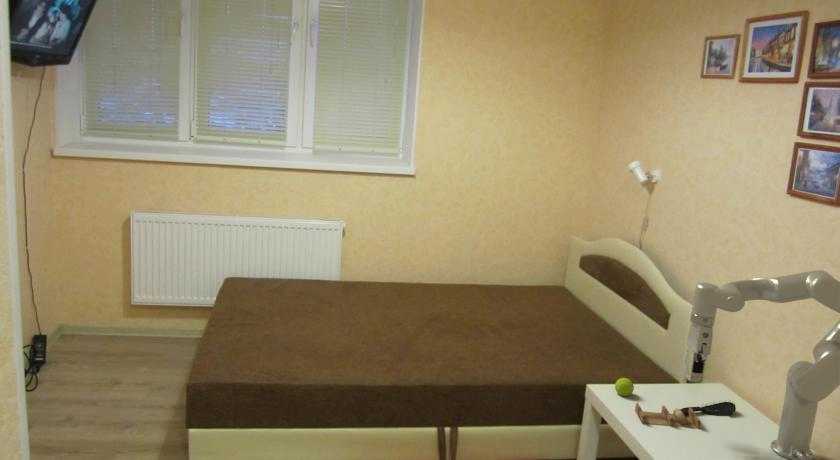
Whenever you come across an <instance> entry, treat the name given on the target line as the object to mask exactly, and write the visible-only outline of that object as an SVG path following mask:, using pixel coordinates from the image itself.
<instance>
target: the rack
mask: <svg viewBox="0 0 840 460" xmlns="http://www.w3.org/2000/svg"><path fill="white" fill-rule="evenodd" d="M634 408H635V409H634V412H635V414H636V415H637V417H638V419H639V421H640V422H641V424H643V425H653V426H661V427H662V426H664V427H665V426H666V427H674V428H683V429H684V428H685V429H686V428H687V429H695V430H696V429H698V430H700V427H701V420H700V418H699V416H698V415H697V414H696V412H694V411H693V410H692V408H689V411H688V412H689V413H688V414H687V415H685V417H686V418H687V420H688V423H687V424H686V425H681V424H680V423H679V422H678V420H677V419H676V417H675V416H674V414H673V413H670V411H669V410H668V409H667V407H666V406H665V405H661V412H656V411H655V412H654V411H644V410H643V409H642V408H641V406H640V404H639V403H638V402H636V403H635V407H634Z"/></svg>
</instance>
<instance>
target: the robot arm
mask: <svg viewBox="0 0 840 460" xmlns="http://www.w3.org/2000/svg"><path fill="white" fill-rule="evenodd" d="M809 299H813V300H815V301H816V302H818V303H820V304H821V305H824V306H825V307H827V308H829V309H831V310H832V311H834V312H836V313H838V314H840V281H839V280H837V279H836V278H835V277H833V276H832V275H831V274H830V273H829V272H827V271H825V270H819V269H817V270H816V269H815V270H809V271H804V272H799V273H794V274H793V273H792V274H788V275H783V276H775V277H761V278H759V277H757V278H747V279H742V280H741V279H740V280H735V281H731V282H726V283H724V284H723V285H721V286H720V287H719V286H718V285H716V284H714V283H710V282H699V283H697V285H696V286H695V291H694V296H693V300H692V301H693V302H692V307H691V314H690V319H689V321H690V326H689V329H688V335H687V341H686V343H687V346H688V345H689V346H690V347H691V348H692V349H693V350H694V352H695V353H696V356H695V361H694V365H693V370H692V372H693V373H702V372H703V367H704V368H705V365H704V363H705V364H706V360H707V358H708V356H710V355H711V350H712V343H713V327H714V325H715V320H716V314H717V310H718V309H719V310H722V311H725V312H730V313H737V312H739V311H741V310H743V308H744V307H745V306H746V305H745V304H746V302H749V301H766V302H767V301H768V302H772V303H776V304H777V303H779V304H786V303H791V302H798V301H804V300H809ZM698 351H702V353H699V352H698ZM686 352H688V349H687V351H686ZM698 355H702V356H701V357H699V358H698ZM812 355H813V359H814V363H813V362H810V361H807V360H800V361H796V362H794V363H792V365H791V366H790V367H789V369H788V370H787V374H786V381H785V383H786V385H785V393H784V394H785V395H784V401H783V405H782V410H781V418H780V421H779V428H778V433H777V438H776V439H775V440H772V441H771V442H770V448H771V449H772V451H773V452H774V453H776V454H777V455H779V456H780V457H782V458H785V459H788V460H813V459H814V456H815V455H814V452H813V451H812V450H811V447H810V446H811V441H812V436H813V432H814V425H815V421H816V415H817V411H818V405H819V402H821V401H823V400H825V399H826V398H828V397H829V396H830V395H831V394H832V393H833V392H834V391H835V390H836V389H837V388H838V387H839V386H840V318H839V319H838V320H837V322H836V323H835V325H834V326H833V327H832V328H831V329H830V330H829V331H828V332H827V333H826V334H824V336H823V337H822V338H821V339H820V340H819V341H818V342H817V343H816V344H815V345H814V347H813V349H812ZM686 359H687V356H686V358H685V360H686ZM703 373H704V372H703Z"/></svg>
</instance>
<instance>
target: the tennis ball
mask: <svg viewBox="0 0 840 460" xmlns="http://www.w3.org/2000/svg"><path fill="white" fill-rule="evenodd" d="M614 389H615V392H616V394H618V395H619V396H622V397H629V396H631V395H632V394H633V392H634V390H635V387H634V383H633V381H631V380H630V379H629V378H626V377H621V378H618V379H617V380H616V381H615V385H614Z"/></svg>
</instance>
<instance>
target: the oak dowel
mask: <svg viewBox="0 0 840 460" xmlns="http://www.w3.org/2000/svg"><path fill="white" fill-rule="evenodd" d="M680 409H681V408H675V409H674V410H673V411H672V414H674V416H675V417H676V419H677V420H678V422H679V423H680V424H681V425H686V424H687V423H688V420H687V418H686V417H685V415H684V414H683V412H682V411H681V410H680Z"/></svg>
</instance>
